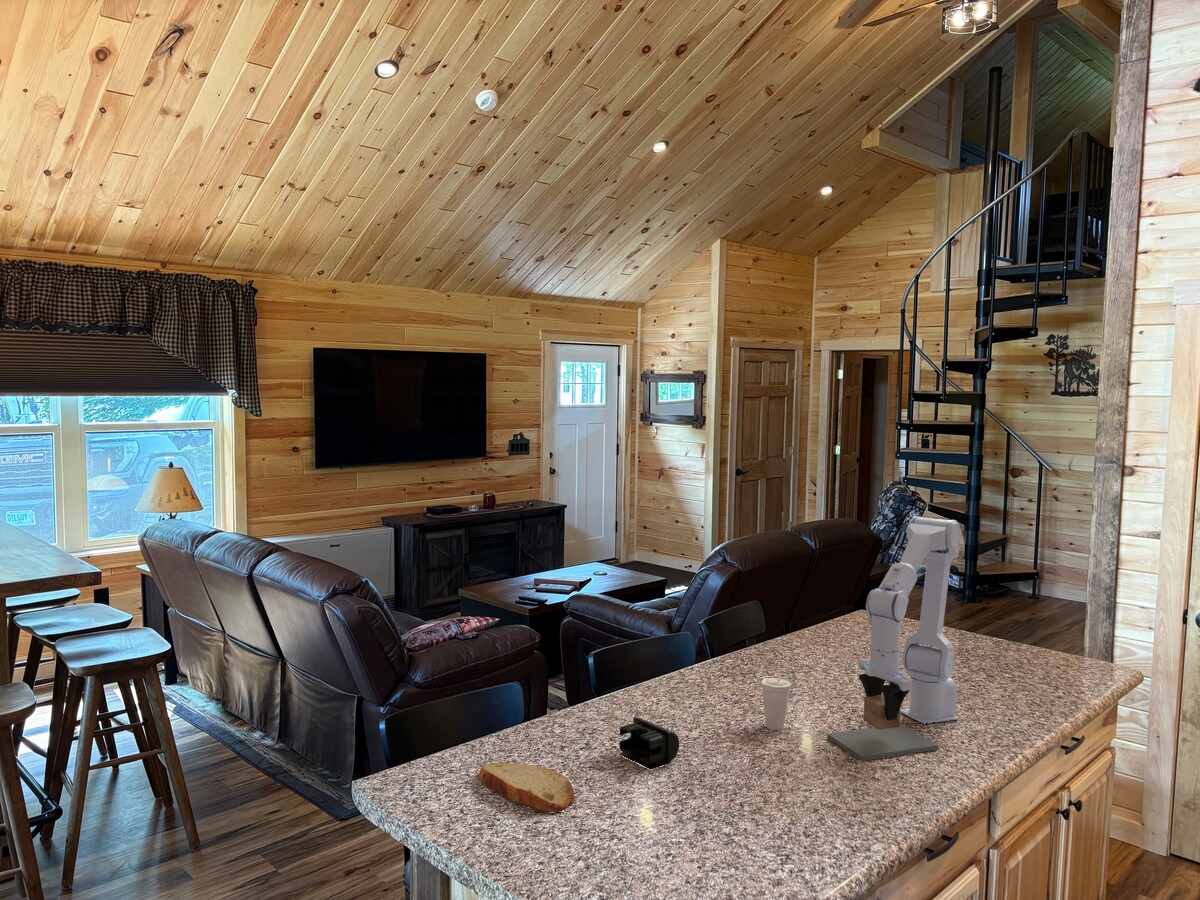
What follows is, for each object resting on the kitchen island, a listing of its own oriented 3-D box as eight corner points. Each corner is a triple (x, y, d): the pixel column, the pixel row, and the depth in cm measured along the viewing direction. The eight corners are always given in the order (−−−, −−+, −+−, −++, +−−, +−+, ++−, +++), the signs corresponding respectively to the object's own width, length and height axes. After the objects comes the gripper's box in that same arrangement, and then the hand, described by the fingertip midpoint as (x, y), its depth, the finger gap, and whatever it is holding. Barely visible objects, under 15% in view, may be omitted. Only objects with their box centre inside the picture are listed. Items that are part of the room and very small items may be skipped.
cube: (884, 717, 186) (884, 694, 185) (899, 726, 181) (900, 702, 181) (863, 720, 184) (864, 696, 184) (878, 729, 179) (879, 705, 179)
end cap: (679, 762, 173) (680, 728, 173) (652, 772, 169) (653, 737, 168) (644, 746, 181) (644, 713, 180) (617, 755, 176) (618, 722, 176)
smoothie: (790, 733, 188) (792, 668, 187) (759, 731, 189) (760, 665, 188) (790, 722, 194) (791, 659, 193) (760, 720, 196) (761, 656, 195)
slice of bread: (479, 771, 169) (479, 751, 169) (574, 771, 170) (575, 752, 169) (467, 816, 151) (467, 795, 151) (574, 816, 152) (574, 795, 151)
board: (899, 728, 192) (900, 723, 192) (938, 749, 180) (938, 745, 180) (827, 738, 186) (827, 733, 186) (862, 761, 174) (862, 756, 174)
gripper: (846, 640, 187) (845, 704, 188) (891, 660, 174) (888, 729, 174) (875, 637, 189) (873, 701, 190) (921, 657, 176) (918, 725, 177)
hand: (882, 714), depth 183 cm, fingers closed on cube, 5 cm apart
